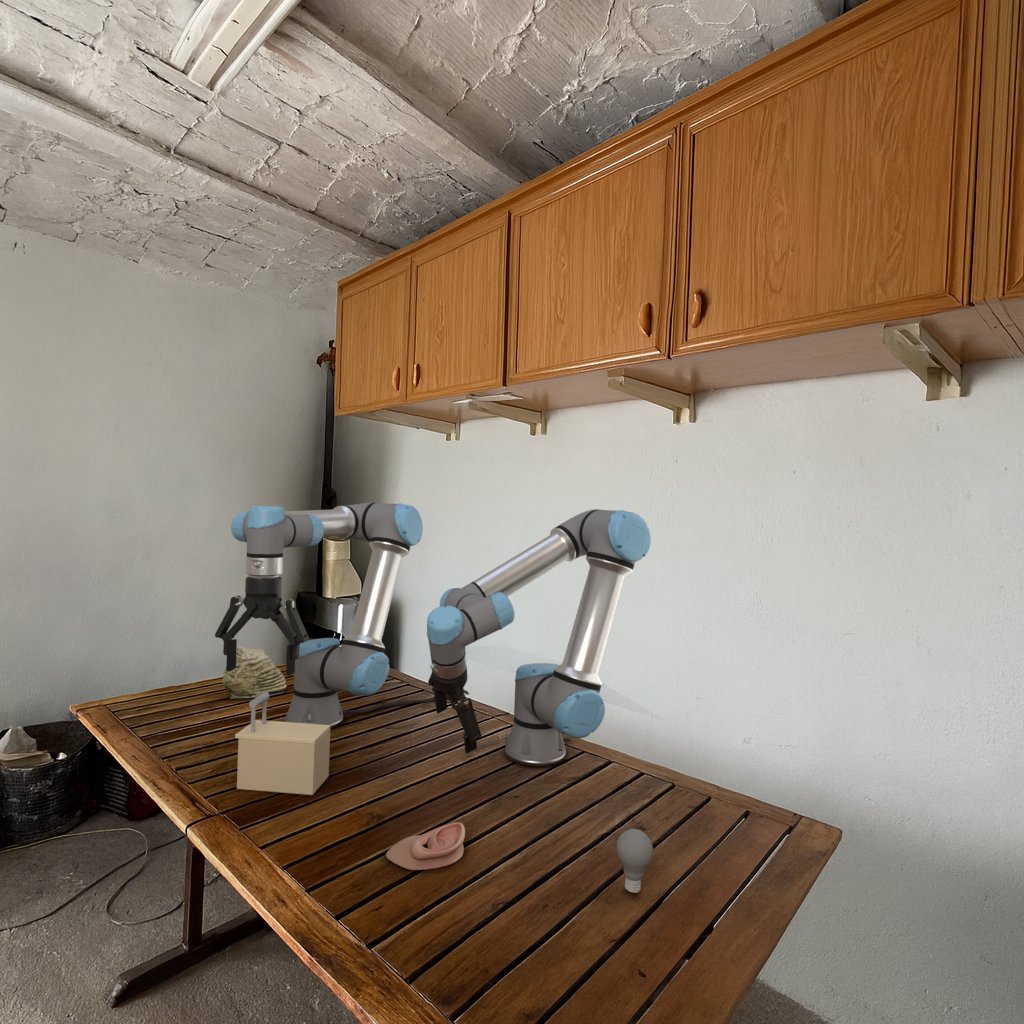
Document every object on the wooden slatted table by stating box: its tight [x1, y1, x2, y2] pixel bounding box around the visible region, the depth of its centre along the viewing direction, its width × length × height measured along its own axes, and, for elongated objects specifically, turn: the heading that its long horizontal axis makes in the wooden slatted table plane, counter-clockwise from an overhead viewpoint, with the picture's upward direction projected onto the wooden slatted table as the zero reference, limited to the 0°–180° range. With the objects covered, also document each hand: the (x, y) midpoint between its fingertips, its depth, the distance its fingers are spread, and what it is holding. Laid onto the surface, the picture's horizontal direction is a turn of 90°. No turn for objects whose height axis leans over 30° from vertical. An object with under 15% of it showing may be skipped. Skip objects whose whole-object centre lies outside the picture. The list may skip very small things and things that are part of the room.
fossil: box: [222, 646, 288, 699], centre depth 198 cm, size 9×18×15 cm, turn 132°
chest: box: [236, 729, 331, 796], centre depth 140 cm, size 17×9×11 cm, turn 85°
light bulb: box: [615, 828, 654, 894], centre depth 106 cm, size 6×6×10 cm
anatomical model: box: [385, 821, 466, 871], centre depth 114 cm, size 13×4×12 cm
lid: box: [234, 692, 331, 744], centre depth 139 cm, size 18×9×8 cm, turn 85°
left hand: (260, 672), depth 140 cm, fingers open, 13 cm apart
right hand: (456, 729), depth 150 cm, fingers open, 13 cm apart
